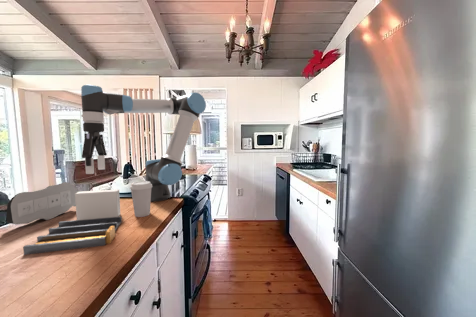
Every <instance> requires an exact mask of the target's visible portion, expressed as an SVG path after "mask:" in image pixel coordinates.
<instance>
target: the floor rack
mask: <svg viewBox="0 0 476 317" xmlns="http://www.w3.org/2000/svg"><path fill="white" fill-rule="evenodd" d="M122 222H123V221H122V216H121V215H120V216H119V217H108V218H96V219H85V220H77V219H75V220H74V219H73V220H64V221H59V222H58V226H57V227H51V228H49V229H48V233H47V234H46V235H38V236H37V237H36V242H35V243H33V244H27V245H26V244H25V245H24V246H23V256H26V255H34V254H43V253H50V252H61V251H68V250H77V249H85V248H93V247H94V248H95V247H102V246H106V245H109V244H111V243H112V242H113V240H114V239H115V237H116V231H117V229H118V228H119V227H120V225H121V224H122Z"/></svg>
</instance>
